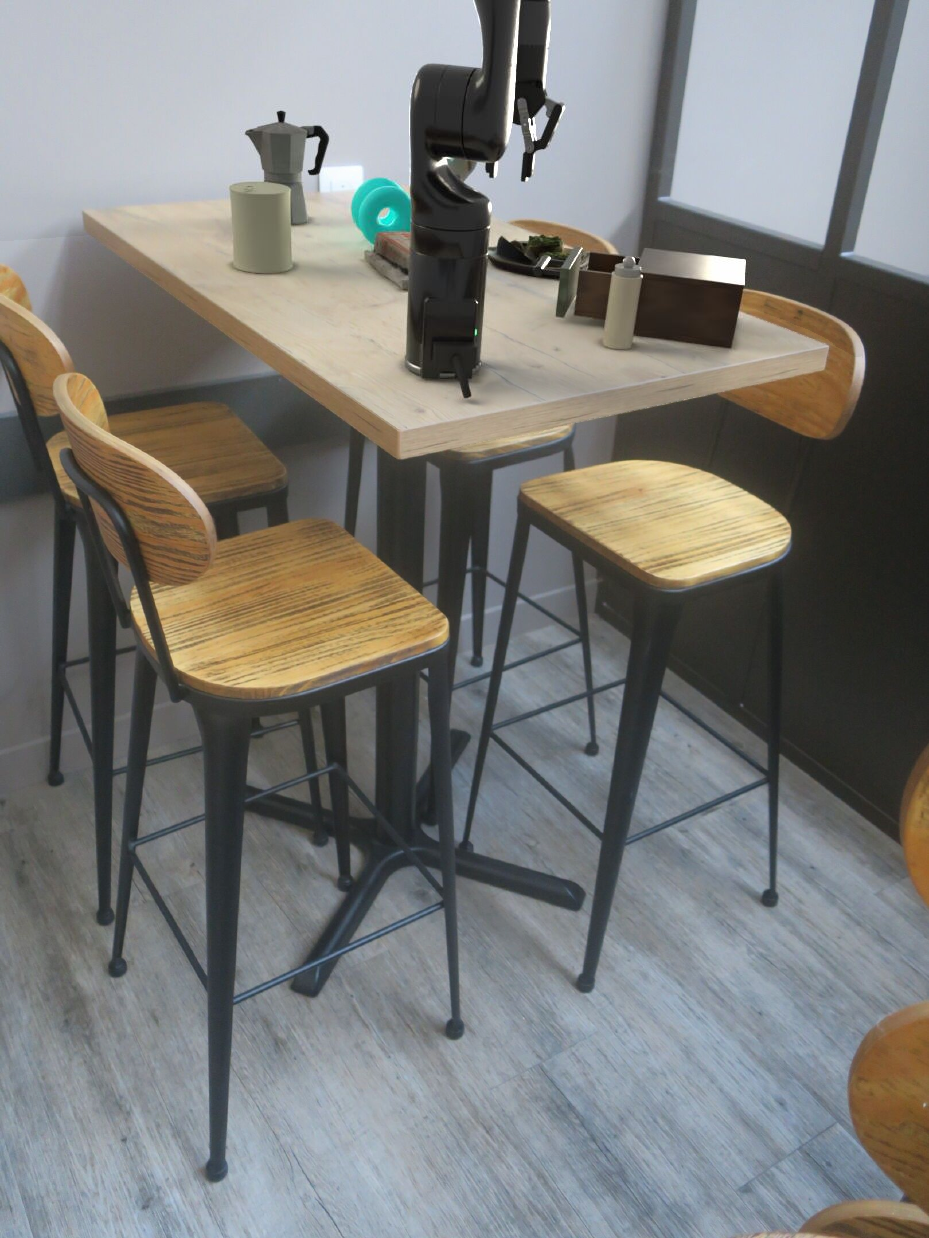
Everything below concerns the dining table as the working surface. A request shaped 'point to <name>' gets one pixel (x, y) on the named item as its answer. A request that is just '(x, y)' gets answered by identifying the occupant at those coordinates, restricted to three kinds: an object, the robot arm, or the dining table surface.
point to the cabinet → (689, 297)
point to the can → (261, 227)
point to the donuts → (381, 208)
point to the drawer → (583, 282)
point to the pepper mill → (622, 305)
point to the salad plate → (531, 254)
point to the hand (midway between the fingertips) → (508, 178)
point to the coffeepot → (288, 158)
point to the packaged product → (391, 256)
